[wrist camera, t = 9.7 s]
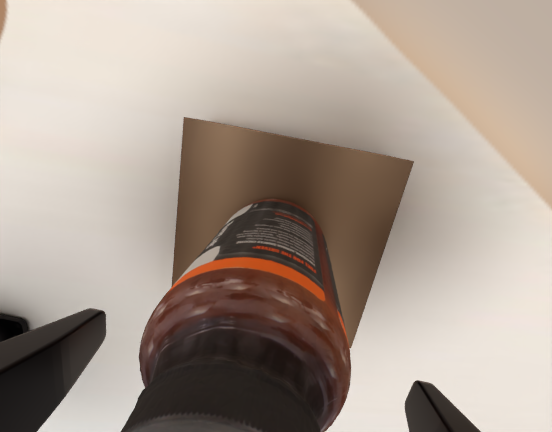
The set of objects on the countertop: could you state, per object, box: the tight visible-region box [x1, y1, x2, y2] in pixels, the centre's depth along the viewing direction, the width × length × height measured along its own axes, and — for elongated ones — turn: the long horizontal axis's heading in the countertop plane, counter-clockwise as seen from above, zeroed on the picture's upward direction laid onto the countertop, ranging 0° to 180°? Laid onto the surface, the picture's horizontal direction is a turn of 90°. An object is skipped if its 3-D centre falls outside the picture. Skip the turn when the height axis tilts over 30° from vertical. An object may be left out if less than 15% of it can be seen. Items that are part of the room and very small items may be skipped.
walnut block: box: [172, 117, 414, 348], centre depth 17 cm, size 12×12×4 cm
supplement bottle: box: [121, 199, 351, 432], centre depth 10 cm, size 6×6×11 cm
